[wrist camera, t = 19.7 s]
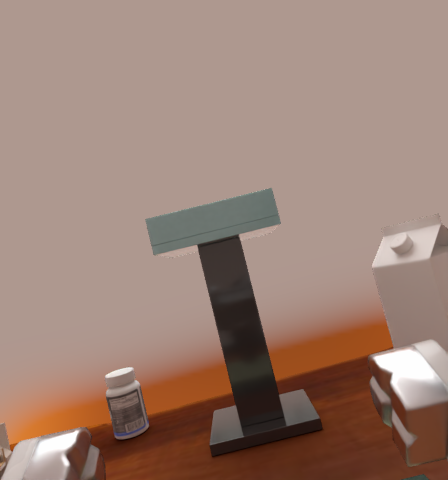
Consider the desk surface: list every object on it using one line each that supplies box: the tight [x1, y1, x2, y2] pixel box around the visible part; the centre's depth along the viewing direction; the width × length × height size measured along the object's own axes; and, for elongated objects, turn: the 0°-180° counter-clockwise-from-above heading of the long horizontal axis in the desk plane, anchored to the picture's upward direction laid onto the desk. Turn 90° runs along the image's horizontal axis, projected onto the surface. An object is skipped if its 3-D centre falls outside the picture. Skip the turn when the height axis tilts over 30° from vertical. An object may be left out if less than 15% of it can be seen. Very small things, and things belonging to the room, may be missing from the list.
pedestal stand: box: [146, 188, 323, 456], centre depth 47 cm, size 14×12×26 cm
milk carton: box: [372, 214, 448, 354], centre depth 43 cm, size 7×7×19 cm
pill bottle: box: [105, 367, 149, 440], centre depth 55 cm, size 5×5×8 cm
